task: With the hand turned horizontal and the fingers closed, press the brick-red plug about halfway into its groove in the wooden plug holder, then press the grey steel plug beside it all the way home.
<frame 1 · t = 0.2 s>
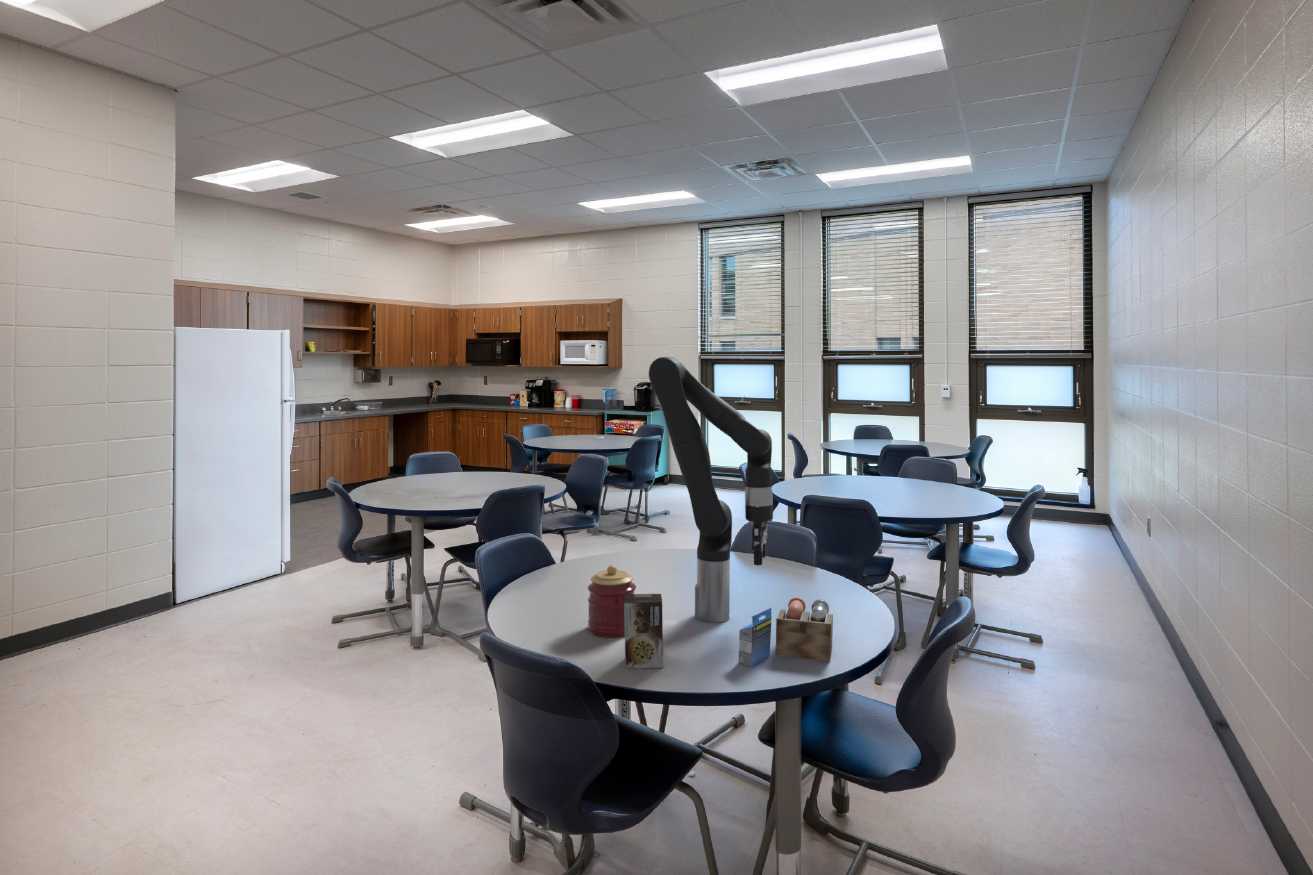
hand: (759, 561, 198), 17 cm above the table, tool pointing down, fingers open, 8 cm apart
wooden plug holder: (804, 651, 179), on the table
steel plug: (819, 613, 183), point 8 cm above the table, slide at 0.0 cm
label tape box: (754, 660, 174), on the table
brick plug: (795, 611, 184), point 8 cm above the table, slide at 0.0 cm
coffee box: (643, 664, 172), on the table
canister: (612, 630, 194), on the table
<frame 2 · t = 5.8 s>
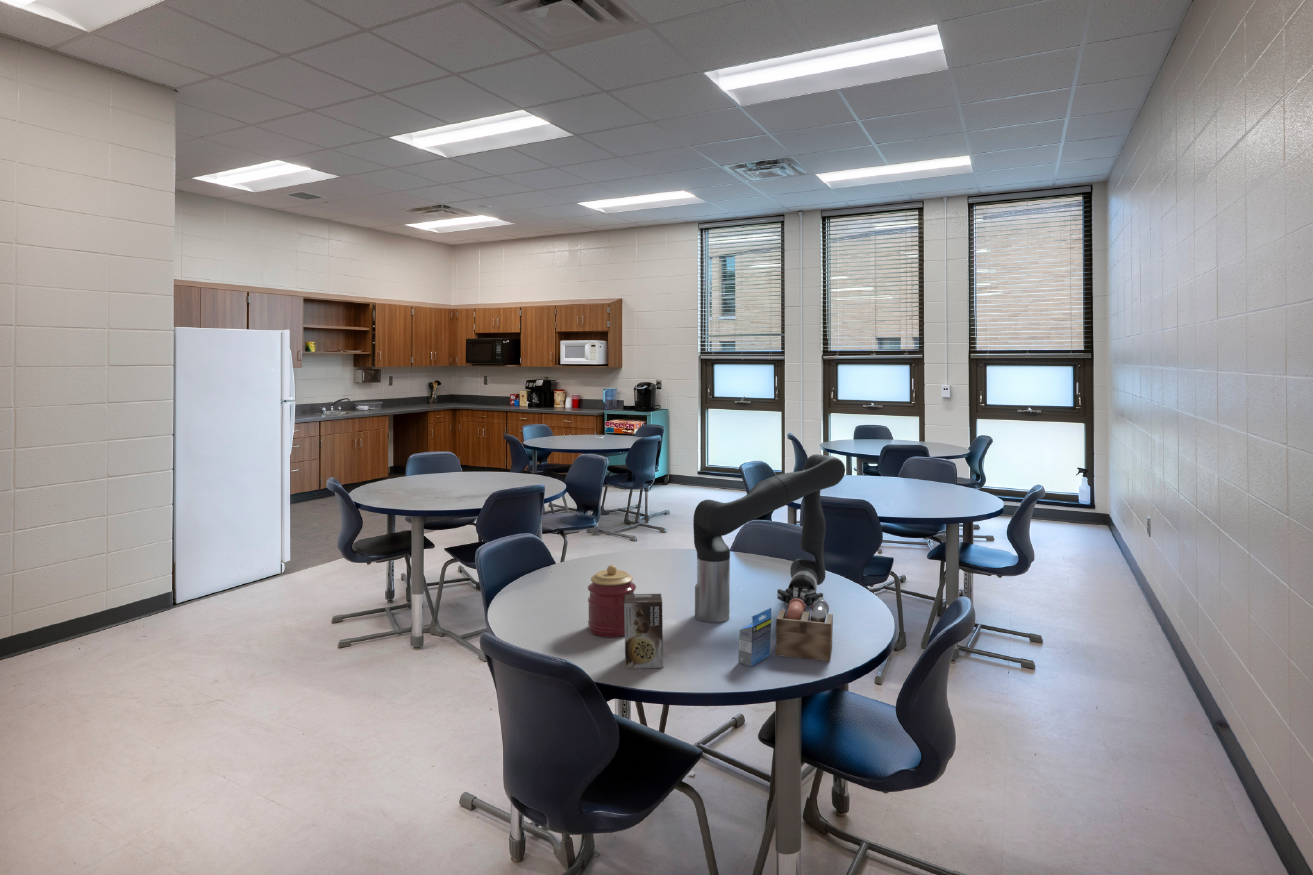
hand: (796, 606, 188), 8 cm above the table, tool horizontal, fingers closed
brick plug: (794, 612, 184), point 8 cm above the table, slide at 0.7 cm, touching gripper
everything else where it was.
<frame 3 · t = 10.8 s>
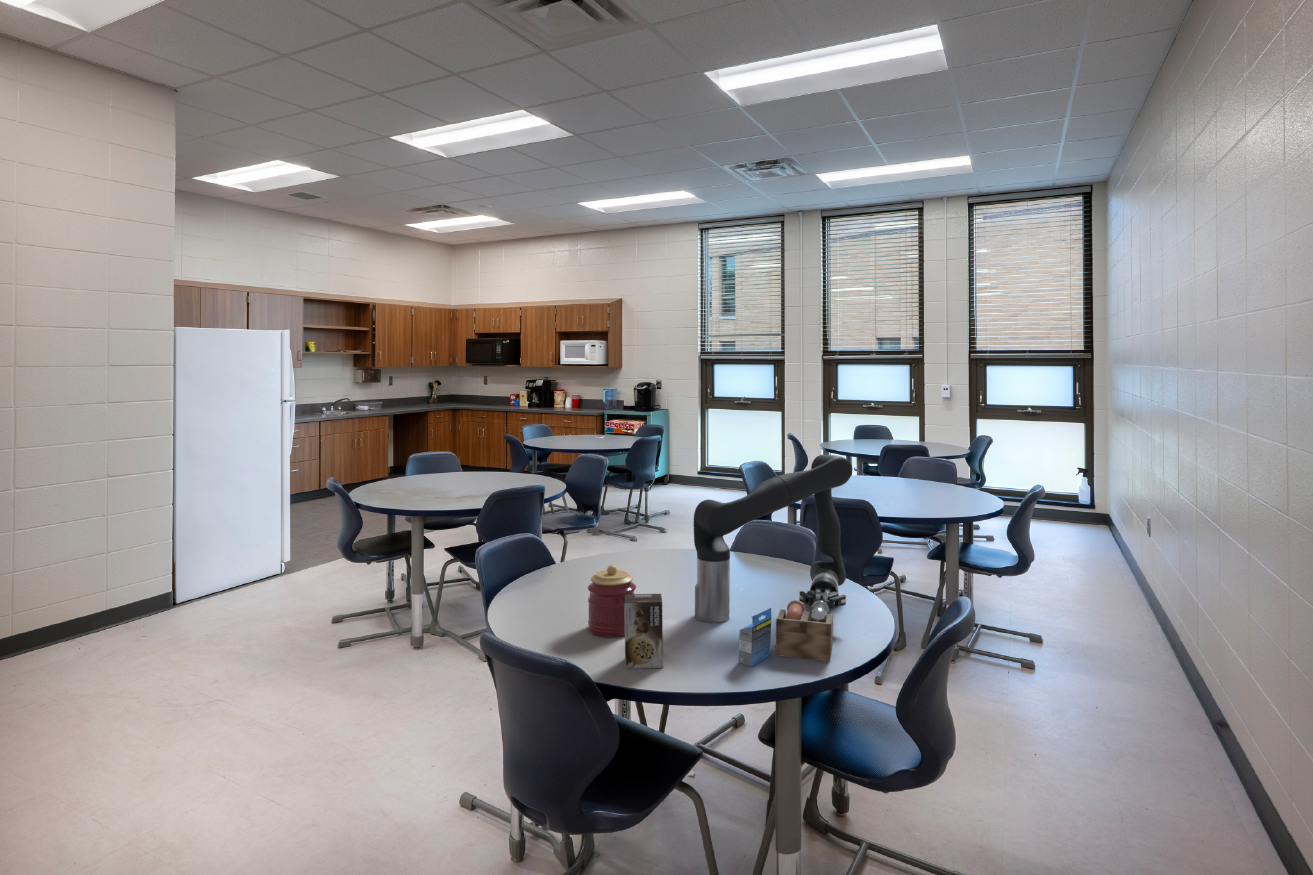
hand: (820, 608, 186), 8 cm above the table, tool horizontal, fingers closed
steel plug: (818, 614, 182), point 8 cm above the table, slide at 0.8 cm, touching gripper
brick plug: (794, 614, 182), point 8 cm above the table, slide at 2.6 cm
everything else where it was.
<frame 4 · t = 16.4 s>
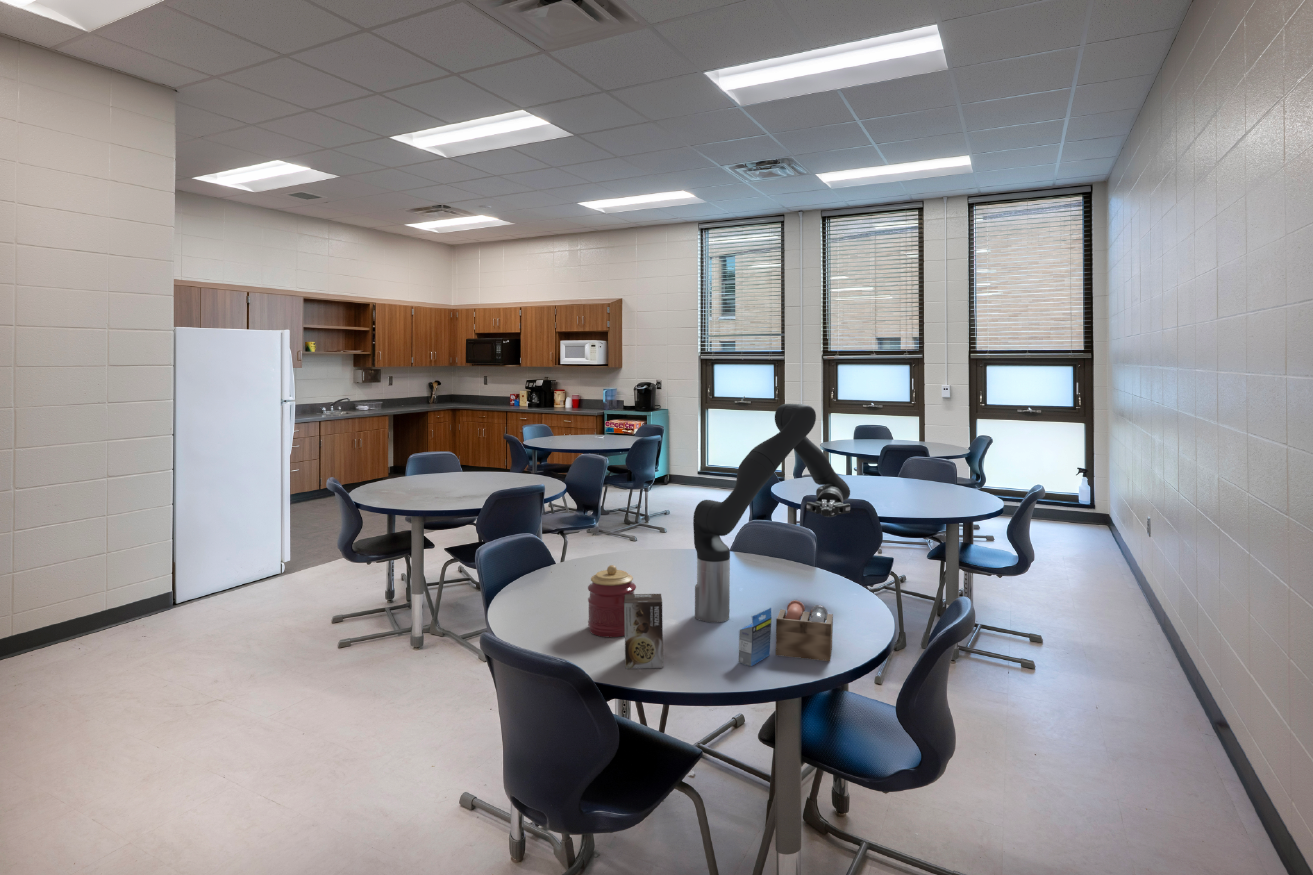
hand: (826, 512, 200), 30 cm above the table, tool horizontal, fingers closed
steel plug: (817, 619, 178), point 8 cm above the table, slide at 4.7 cm
everything else where it was.
at the end: steel plug slide at 4.7 cm; brick plug slide at 2.6 cm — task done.
